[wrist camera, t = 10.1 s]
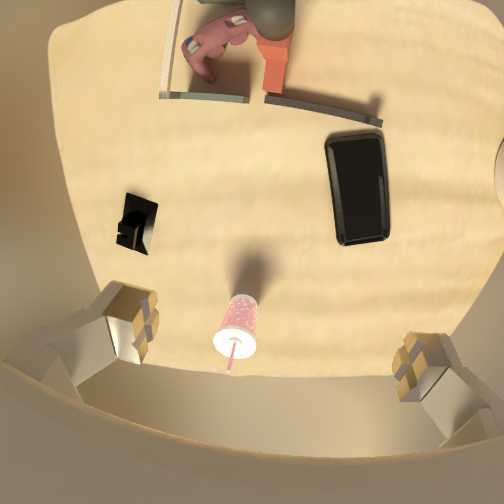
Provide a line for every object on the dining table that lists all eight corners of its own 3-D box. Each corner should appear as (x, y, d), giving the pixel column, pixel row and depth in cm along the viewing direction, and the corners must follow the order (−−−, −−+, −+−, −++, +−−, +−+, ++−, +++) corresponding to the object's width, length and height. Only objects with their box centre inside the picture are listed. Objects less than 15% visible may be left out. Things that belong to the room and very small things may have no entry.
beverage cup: (263, 319, 49) (254, 386, 37) (228, 319, 50) (210, 383, 38) (260, 290, 46) (249, 357, 34) (222, 290, 47) (200, 354, 35)
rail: (376, 118, 32) (383, 120, 29) (374, 125, 33) (381, 127, 30) (266, 95, 33) (264, 94, 30) (265, 103, 33) (263, 103, 31)
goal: (264, 0, 26) (256, -27, 18) (248, 103, 33) (236, 103, 26) (201, -2, 27) (178, -25, 19) (187, 98, 34) (158, 98, 26)
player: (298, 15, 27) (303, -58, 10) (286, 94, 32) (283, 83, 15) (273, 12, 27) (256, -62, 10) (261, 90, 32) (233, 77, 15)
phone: (337, 247, 40) (323, 139, 34) (336, 243, 41) (322, 138, 35) (390, 239, 39) (383, 133, 32) (388, 236, 40) (381, 132, 33)
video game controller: (262, 28, 30) (243, -4, 23) (278, 49, 29) (260, 16, 23) (197, 65, 33) (168, 41, 26) (209, 88, 33) (179, 64, 26)
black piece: (125, 181, 41) (110, 190, 37) (168, 195, 41) (155, 206, 37) (116, 248, 47) (103, 262, 43) (153, 263, 47) (142, 278, 43)
